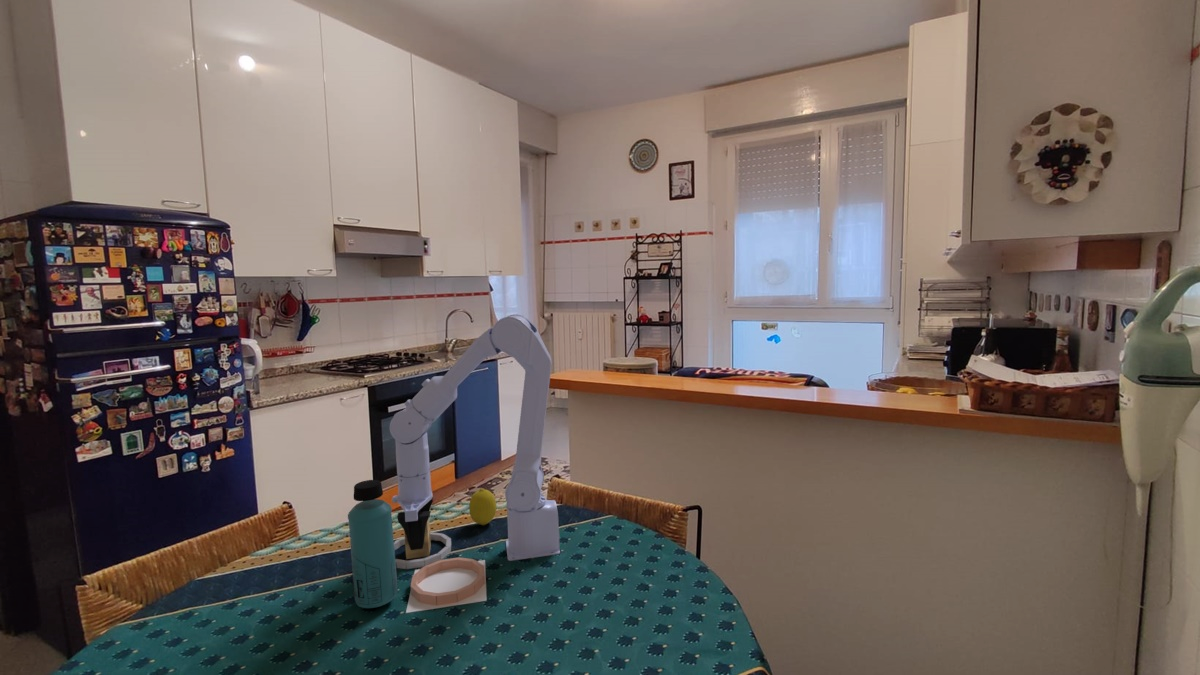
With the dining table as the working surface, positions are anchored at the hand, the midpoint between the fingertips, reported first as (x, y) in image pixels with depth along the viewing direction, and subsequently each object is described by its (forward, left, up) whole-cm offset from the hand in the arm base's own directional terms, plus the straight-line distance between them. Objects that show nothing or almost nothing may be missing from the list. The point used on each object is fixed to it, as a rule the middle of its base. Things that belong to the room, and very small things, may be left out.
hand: (418, 542), depth 100 cm
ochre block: (0, 0, -2) cm, 2 cm away
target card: (-6, +13, -2) cm, 14 cm away
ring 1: (0, 0, -2) cm, 2 cm away
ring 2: (-6, +13, -2) cm, 14 cm away
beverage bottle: (+5, +16, -2) cm, 17 cm away
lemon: (-12, -9, -2) cm, 15 cm away
